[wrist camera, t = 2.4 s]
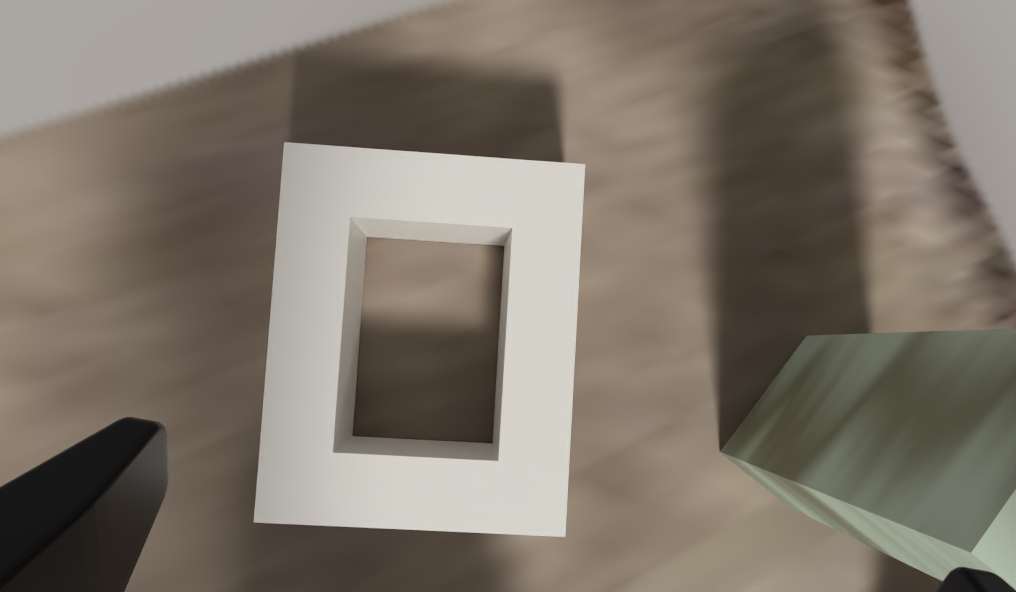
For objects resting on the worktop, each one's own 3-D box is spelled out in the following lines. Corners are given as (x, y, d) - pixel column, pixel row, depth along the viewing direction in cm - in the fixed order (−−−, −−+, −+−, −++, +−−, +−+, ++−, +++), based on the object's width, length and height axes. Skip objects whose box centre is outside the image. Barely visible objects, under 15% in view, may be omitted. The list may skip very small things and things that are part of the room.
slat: (789, 507, 26) (1106, 661, 13) (719, 451, 26) (971, 552, 13) (874, 390, 27) (1261, 429, 14) (806, 335, 27) (1130, 324, 14)
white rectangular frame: (549, 507, 26) (565, 536, 22) (286, 494, 25) (253, 522, 21) (566, 191, 27) (585, 164, 23) (310, 173, 26) (284, 142, 22)
